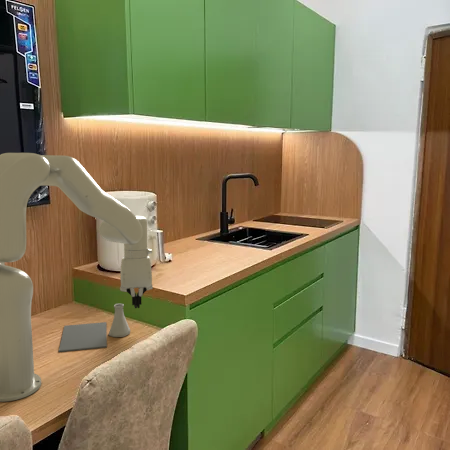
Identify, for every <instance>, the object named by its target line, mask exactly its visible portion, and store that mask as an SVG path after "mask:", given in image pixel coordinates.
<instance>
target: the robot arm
mask: <svg viewBox="0 0 450 450" xmlns="http://www.w3.org/2000/svg"><path fill="white" fill-rule="evenodd" d="M40 186H41V187H42V186H50V187H57V188H59V189H60V191H61V192H63V193H64V194H65V196H67V198H69V200H70V201H71V202H72V203H73V204H74V205H75V206H76V208H77V209H78V210H80V211H81V212H83V213H84V214H86V215H88V216H91V217H93V218H96V219H98V220H100V221H102V222H100V225H99V227H98V233H99V235H100V236H101V238H102V239H104V240H105V241H108V242H111V243H112V242H113V243H119V244H123V248H124V249H123V254H124V256H123V257H121V261H120V262H121V263H120V287H119V290H120V292H125V293H127V294H129V295H130V296H131V305H132V306H133V307H134V309H140V305H142V296H143V294H145V293H146V292H147V291H150V290H153V288H154V287H153V274H152V272H153V271H152V265H151V258H150V256H149V255H150V254H151V255H152V253H153V250H152V249H150V248H148V220H147V218H146V217H145V216H142V215H135V214H134V213H133V212H132V210H131V209H129V208H128V207H127V206H126V205H124V204H123V203H121V202H120V201H119V200H118V199H116V198H115V197H113V196H112V195H110V194H108V193H106V191H104V190H103V189H102V188H101V187H100V185H98V183H97V182H96V181H95V180H94V179H93V177H92V176H91V175H90V173H88V171H87V170H86V169H85V167H83V165H82V164H81V163H80V161H78V160H77V159H76V158H74V157H72V156H69V155H52V154H50V155H48V154H47V155H41V154H37V153H34V152H5V153H1V154H0V403H1V402H3V403H4V402H12V401H17V400H21V399H24V398H25V397H26V398H27V397H29V396H31V395H32V394H34V393H35V392H36V391H38V390H39V388H40V387H41V385H42V378H41V376H40V375H39V374H37V373H35V365H34V346H33V330H32V300H33V295H34V284H33V283H34V282H33V281H32V278H31V277H30V276H29V275H28V273H26V271H24V270H21V269H20V268H16V267H13V266H10V265H5V264H6V263H13V262H17V261H20V260H21V259H22V258H23V257H24V256H25V253H26V251H27V205H28V202H29V200H30V197H31V195H32V194H33V193H35V191H36V190H37V189H38V188H39V187H40ZM135 289H137V290H138V291H137V294H136V292H135Z"/></svg>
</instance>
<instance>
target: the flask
mask: <svg viewBox="0 0 450 450" xmlns="http://www.w3.org/2000/svg"><path fill="white" fill-rule="evenodd" d="M124 305H125V304H124V303H115V304H114V305H113V308H114V314H113V315H114V316H113V320H112V323H111V326H110V328H109V330H108V332H109V333H108V336H109V337H113V338H124V337H126V336H128V335H130V334H131V328H130V326H129V324H128V322H127V321H128V320H127V319H126V316H125V314H124Z"/></svg>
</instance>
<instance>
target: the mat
mask: <svg viewBox="0 0 450 450" xmlns="http://www.w3.org/2000/svg"><path fill="white" fill-rule="evenodd" d="M107 334H108V333H107V321H103V322H95V323H94V322H92V323H81V324H79V323H78V324H68V325H67V324H66V325H64V326H63V331H62V335H61V340H60V343H59V348H58V353H64V352H73V351H74V352H75V351H83V350H84V351H85V350H93V349H95V350H96V349H104V348H107V347H108V345H107V344H108V341H107Z"/></svg>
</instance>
